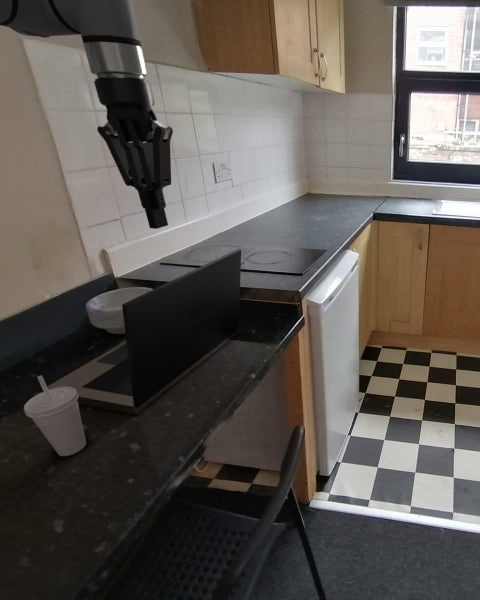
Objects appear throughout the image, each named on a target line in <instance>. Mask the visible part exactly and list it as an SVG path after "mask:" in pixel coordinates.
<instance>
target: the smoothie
mask: <svg viewBox="0 0 480 600" xmlns="http://www.w3.org/2000/svg"><path fill="white" fill-rule="evenodd" d="M36 378H37V380H38V382H39V384H40V386H41V389H43V390H42V391H41V392H40V393H38V394H36V395H34V396H33V397H31V398H30V399H29V400H27V401H26V403H25V404H24V406H23V411H24V414H25V416H26V417H28V418H31V419H32V421H33V422H34V424H35V425H36V426H37V427H38V429H39V431H40V432H41V433H42V434H43V436H44V438H45V439H46V440H47V441H48V442H49V444H50V445H51V446H52V448H53V449H54V451H55V452H56V453H57V455H58V456H60V457H68V456H72V455H75V454H77V453H78V452H80V451H81V450H83V449H84V448H85V447H86V445H87V439H86V434H85V429H84V424H83V421H82V416H81V411H80V406H79V403H78V402H77V399H78V396H79V395H78V393H77V391H76V389H74V388H72V387H58V388H54V389H50V390H48V388H47V384H46V381H45V379H44V377H43V375H38V376H37V377H36ZM43 391H44V392H43Z"/></svg>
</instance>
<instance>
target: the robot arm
mask: <svg viewBox="0 0 480 600" xmlns="http://www.w3.org/2000/svg"><path fill="white" fill-rule="evenodd" d="M0 26H1V27H6V28H9V29H11V30H12V31H14V32H15V33H17V34H20V35H22V36H26V37H40V38H43V39H45V38H51V37H60V36H61V37H62V36H78V35H79V36H80V37H81V39H82V43H83V47H84V51H85V55H86V59H87V62H88V66H89V70H90V73H91V74H93V76H96V78H95V79H94V81H93V84H94V87H95V90H96V94H97V98H98V102H99V104H101V105H102V106H104V107H105V108H106V120H107V122H106V123H105V124H104V125H103V126H97V127H96V130H97V133H98V134H99V136H100V137H101V138H102V139H103V141H104V142H105V144H106V146H107V148H108V150H109V152H110V154H111V156H112V158H113V161H114V163H115V166H116V167H117V169H118V172H119V173H120V177H121V178H122V181H123V182H124V184H125V186H127V187H133V188H134V189H135V190H136V191H137V193H138V197H139V200H140V205H141V207H142V209H144V211H145V215H146V219H147V222H148V227H149V229H155V230H156V229H157V230H158V229H160V228H164V227H167V226H169V221H168V218H167V213H166V211H165V208H166V206H167V204H166V203H167V202H166V200H165V195H164V191H163V190H164V188H166V187H168V186H171V185H172V160H171V159H172V157H171V140H172V137H173V133H174V129H173V127H171V126H170V125H168V126H165V125H164V124H163V123H161V122H160V121H158V117H157V115H156V113H155V112H154V109H153V106H155V104H156V103H155V98H154V94H153V89H152V85H151V83H150V81H148V80H147V79H146V78H147V77H148V76H149V73H148V68H147V65H146V60H145V55H144V51H143V47H142V43H141V41H140V36H139V31H138V25H137V20H136V15H135V10H134V5H133V0H0Z"/></svg>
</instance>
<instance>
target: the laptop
mask: <svg viewBox="0 0 480 600" xmlns="http://www.w3.org/2000/svg"><path fill="white" fill-rule="evenodd" d="M236 336H237V331H236V332H235V333H233V334H232V335H231V336H229V337H228V338H227V339H226V340H224V341H223V342H222V343H220V344H219V345H218V346H217V347H215V348H214V349H213V350H211V351H210V352H209V353H208V354H206V355H205V356H204V357H202V358H201V359H200V360H199V361H197V362H196V363H195V364H193V365H192V366H191V367H190V368H188V369H187V370H186V371H184V372H183V373H182V374H181V375H179V376H178V377H177V378H175V379H174V380H173V381H172V382H170V383H169V384H168V385H166V386H165V387H164V388H163V389H161V390H160V391H159V392H157V393H156V394H155V395H154V396H152V397H151V398H150V399H148V400H147V401H146V402H145V403H143V404H142V405H141V406H139V407H138V408H137V407H134V403H133V394H132V386H131V377H130V369H129V360H128V351H127V343H126V340H125V341H124V342H121V343H120V344H118V345H117V346H115V347H112V348H111V349H109V350H108V351H106V352H104V353H103V354H101V355H99V356H98V357H96V358H94V359H93V360H90V361H89V362H87V363H85V364H84V365H82V366H80V367H78V368H77V369H75V370H73V371H71V372H70V373H68V374H66V375H65V376H63V377H61V378H60V379H58V380H56V381H54V382H53V383H51V384H49V385H48V386H47V388H48V390H50V389H54V388H58V387H72V388H74V389H76V391H77V393H78V395H79V396H78V399H77V402H78V405H85V406H88V407H89V406H90V407H95V408H100V409H106V410H110V411H112V410H113V411H116V412H121V413H127V414H132V415H137V414H139V413H140V412H141V411H143V409H145V408H146V407H147V406H148V405H150V404H151V403H153V402H154V401H155V400H156V399H157V398H159V397H160V396H161V395H163V394H164V393H165V392H166V391H167V390H169V389H171V387H173V386H174V385H175V384H176V383H178V382H179V381H181V379H183V378H184V377H185V376H187V375H188V374H189V373H190V372H192V371H193V370H194V369H196V368H197V367H198V366H199V365H200V364H201V363H203V362H204V361H206V360H207V359H208V358H209V357H210V356H212V355H213V354H214V353H216V352H217V351H218V350H219V349H221V348H222V347H224V346H225V344H227V343H228V342H229V341H231V340H232V339H233V338H234V337H236ZM41 389H42V388H41ZM41 391H42V392H44V391H43V389H42V390H41Z"/></svg>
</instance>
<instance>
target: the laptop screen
mask: <svg viewBox="0 0 480 600" xmlns="http://www.w3.org/2000/svg"><path fill="white" fill-rule="evenodd" d="M241 271H242V249H240V248H237V249H235V250H233V251H231V252H228V253H226V254H225V255H222V256H220V257H218V258H215V259H214V260H212V261H210V262H208V263H205V264H204V265H202V266H199V267H197V268H195V269H193V270H191V271H188V272H187V273H184V274H183V275H180V276H179V277H176V278H174V279H172V280H170V281H168V282H166V283H164V284H162V285H160V286H158V287H155V288H152V289H153V290H151V291H149V292H147V293H145V294H143V295H141V296H139V297H137V298H135V299H133V300H131V301H128V302H126V303H124V304H122V308H123V317H124V326H125V334H124V335H125V341H126V343H127V351H128V360H129V369H130V377H131V386H132V394H133V403H134V407H137V408H138V407H139V406H141V405H142V404H143V403H145V402H146V401H147V400H148V399H150V398H151V397H152V396H154V395H155V394H156V393H157V392H159V391H160V390H161V389H163V388H164V387H165V386H166V385H168V384H169V383H170V382H172V381H173V380H174V379H175V378H177V377H178V376H179V375H181V374H182V373H183V372H184V371H186V370H187V369H188V368H190V367H191V366H192V365H193V364H195V363H196V362H197V361H199V360H200V359H201V358H202V357H204V356H205V355H206V354H208V353H209V352H210V351H211V350H213V349H214V348H215V347H217V346H218V345H219V344H220V343H222V342H223V341H224V340H226V339H227V338H228V337H229V336H231V335H232V334H233V333H235V332H236V333H237V331H238V330H239V327H240V299H241V274H242V273H241Z"/></svg>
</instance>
